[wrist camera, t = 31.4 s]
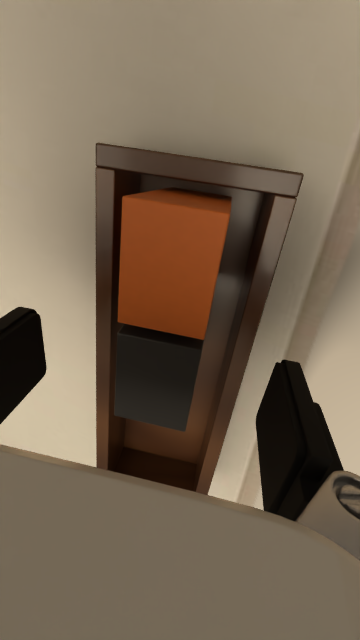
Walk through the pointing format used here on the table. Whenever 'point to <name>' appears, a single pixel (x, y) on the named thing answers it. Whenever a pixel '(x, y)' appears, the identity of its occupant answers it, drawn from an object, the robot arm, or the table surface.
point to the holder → (225, 315)
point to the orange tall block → (171, 258)
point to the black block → (155, 376)
